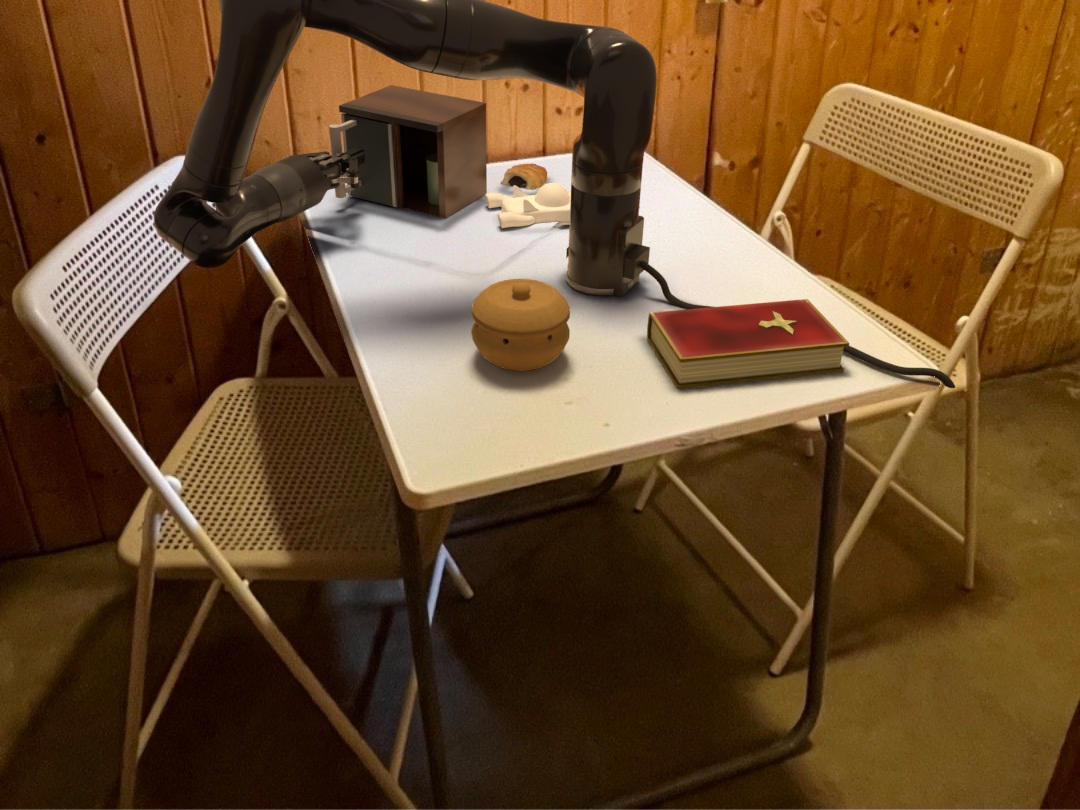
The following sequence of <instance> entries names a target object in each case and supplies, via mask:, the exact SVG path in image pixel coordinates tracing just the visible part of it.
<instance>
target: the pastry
mask: <svg viewBox="0 0 1080 810" xmlns="http://www.w3.org/2000/svg"><path fill="white" fill-rule="evenodd" d="M547 178H548V171H547V169H546V167H544V166H541V165H539V164H536V163H520V164H515V165H512V166H511V168H508V169H507V170H506V171H505V173H504V175H503V178H502V180H501V181H500V185H502V186H508V187H514V185H515V186H517V187H525V190H527V191H531V190H536V189H540V188H541V187H542V186H543V185H545V184H546V182H547Z"/></svg>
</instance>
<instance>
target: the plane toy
mask: <svg viewBox="0 0 1080 810" xmlns="http://www.w3.org/2000/svg"><path fill="white" fill-rule="evenodd" d="M512 190H513V193H512V195H513V197H512V196H509V195H505V194H502V193H499V192H489V193H488V192H487V194H485V196H484V198H485V199H484V200H485V203H486V206H487V208H488V209H492V208H493V209H494V208H501V212H498V213H497V220H498V222H499V226H500V228H501V229H506V228H507V229H508V228H512V227H513V228H522V227H528V226H531V225H534V224H543V223H554V222H555V224H554V225H553V227H555V226H568V225H569V226H570V201H571V190H570V191H568V190H567V188H565V187H564V186H563V185H562V184H560V183H557V182H547V183H544V184H543V185H542V186H541V187H539V188H538V190H537V192H536V194H531V195H529V194H527V193H525V192H524V191H523V189H521V188H520V186H515V185H514V186H513V189H512ZM556 222H557V223H556Z"/></svg>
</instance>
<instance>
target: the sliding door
mask: <svg viewBox="0 0 1080 810" xmlns="http://www.w3.org/2000/svg"><path fill="white" fill-rule="evenodd" d="M340 119H341V120H340V121H341V123H340V124H337V123H336V124H335V123H332V124H329V125H328V130H329V131H328V132H329V143H330V152H331V154H334V153H337V152H338V153H344V152H346V151H348V150H350V149H353V148H355V147H356V148H361V149H364V151H365V161H366V162H365V163H363V164H361V165H359V166H358V170H359V188H356V189H353V188H351V185H348V184H347V183H345V184H340V186H339V187H338V188H335V189H334V196H335V198H336V199H344V198H346V197H347V196H348V197H354V198H357V199H361V200H366V201H368V202H369V201H370V202H373V203H376V204H377V203H378V204H381V205H385V206H389V207H393V208H399V207H398V193H397V177H396V160H395V143H394V126H393V123H388V122H383V121H379V120H374V119H369V118H364V117H359V116H354V115H350V114H345V113H341V114H340ZM341 132H342V133H341ZM341 134H342V135H341ZM342 141H343V142H342ZM342 143H343V145H342Z"/></svg>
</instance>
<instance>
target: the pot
mask: <svg viewBox="0 0 1080 810" xmlns="http://www.w3.org/2000/svg"><path fill="white" fill-rule="evenodd" d="M570 310H571V306H570V304H569V302H568V300H567V299H566V297H565V296H564V295H563V294H562V292H560V291H559V290H558V289H556V288H555V287H553V286H552V285H550V284H548V283H545V282H543V281H540V280H536V279H531V278H510V279H504V280H501V281H497V282H495V283H493V284H490V285H489V286H487V287H486V288H484V289H483V290H482V291H481V292H480V293H478V295H477V296H476V298H475V299H474V300H473V302H472V306H471V317H472V320H473V321H474V322H473V324H472V327H471V330H470V333H471V334H470V335H471V338H472V342H473V344H474V345H475V347H476V349H477V350H478V351H479V353H480V354H481V356H483V358H484V359H486V360H487V361H489V362H490V363H491V364H493V365H495V366H497V367H499V368H501V369H505V370H511V371H519V372H520V371H533V370H537V369H540V368H543V367H545V366H547V365H549V364H551V363H552V362H553V361H554V360H556V359H557V358H558V357H559V356H560V355H561V354H562V352H563V351H564V349H565V348H566V346H567V344H568V343H569V340H570V334H571V333H570V332H571V330H570V329H571V328H570V327H569V324H568V321H569V320H570V318H571V311H570Z"/></svg>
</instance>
